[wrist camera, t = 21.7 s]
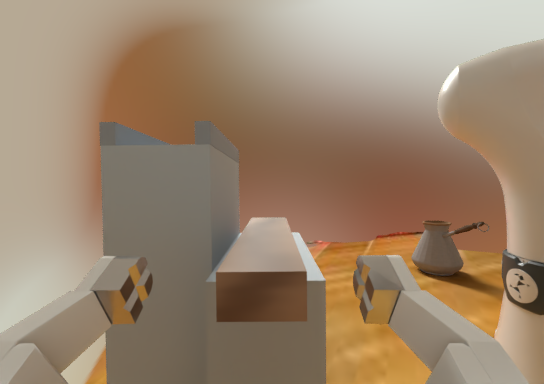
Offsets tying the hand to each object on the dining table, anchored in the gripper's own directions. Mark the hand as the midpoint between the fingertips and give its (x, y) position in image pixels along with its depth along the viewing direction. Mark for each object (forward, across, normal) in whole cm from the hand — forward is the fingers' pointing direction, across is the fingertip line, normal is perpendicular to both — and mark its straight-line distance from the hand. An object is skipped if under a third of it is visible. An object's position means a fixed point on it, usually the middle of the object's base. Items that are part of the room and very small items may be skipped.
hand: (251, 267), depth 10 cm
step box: (+6, +4, +26) cm, 27 cm away
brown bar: (+10, 0, +10) cm, 14 cm away
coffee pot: (+37, -43, +44) cm, 72 cm away
